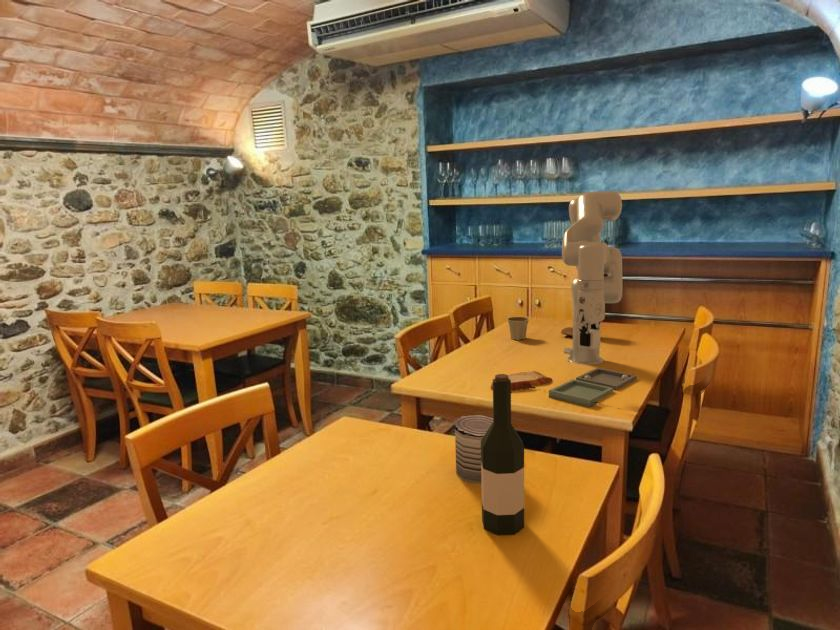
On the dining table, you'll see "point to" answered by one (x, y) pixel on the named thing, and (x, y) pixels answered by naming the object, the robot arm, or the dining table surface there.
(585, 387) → the bin
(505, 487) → the wine bottle
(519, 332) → the flower pot
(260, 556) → the dining table surface
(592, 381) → the bin
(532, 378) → the bread slice
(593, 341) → the beige block
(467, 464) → the can
